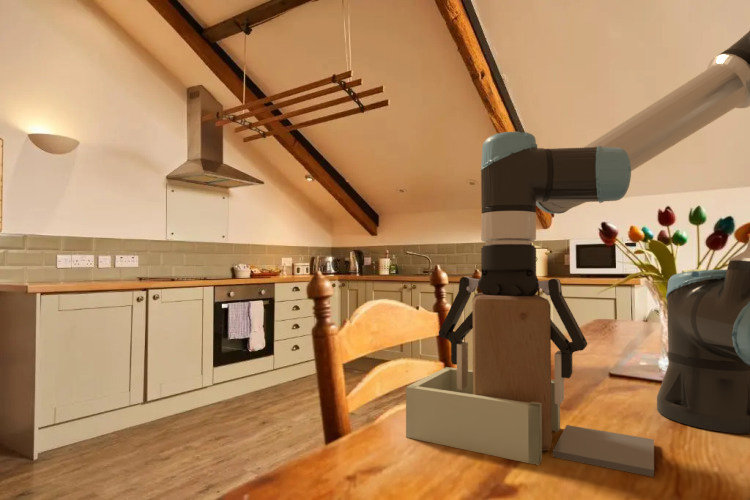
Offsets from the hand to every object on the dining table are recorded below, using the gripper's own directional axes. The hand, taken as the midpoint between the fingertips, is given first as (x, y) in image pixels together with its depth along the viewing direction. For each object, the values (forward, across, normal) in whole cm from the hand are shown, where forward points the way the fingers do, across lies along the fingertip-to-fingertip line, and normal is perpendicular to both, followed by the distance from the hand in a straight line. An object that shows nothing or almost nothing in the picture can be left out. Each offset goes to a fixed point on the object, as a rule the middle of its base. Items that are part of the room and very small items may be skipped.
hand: (508, 394), depth 66 cm
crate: (+6, +3, 0) cm, 7 cm away
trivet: (+6, -12, -2) cm, 14 cm away
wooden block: (+6, 0, 0) cm, 6 cm away
